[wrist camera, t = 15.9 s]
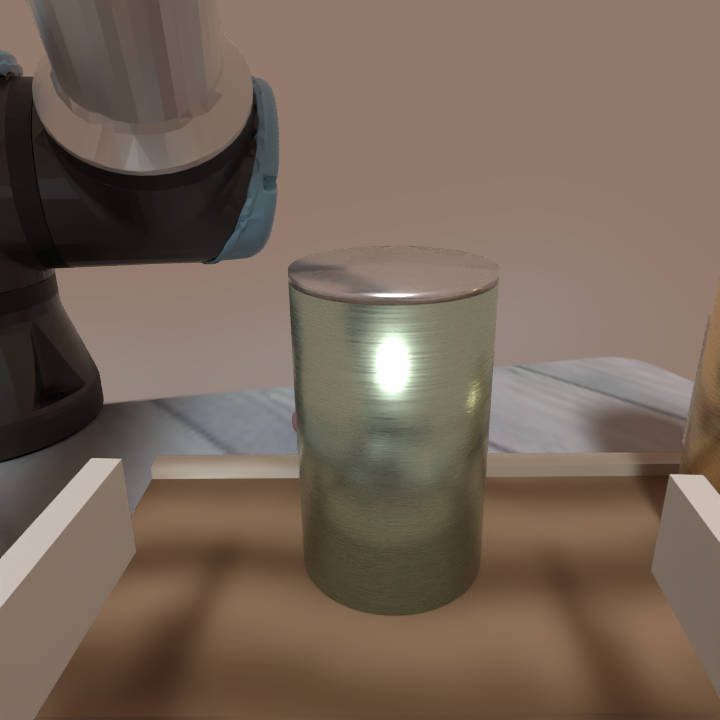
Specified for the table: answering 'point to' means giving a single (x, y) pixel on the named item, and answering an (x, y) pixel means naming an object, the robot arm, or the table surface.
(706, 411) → the mustard tin
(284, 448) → the table surface
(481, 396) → the green tin
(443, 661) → the wooden tray
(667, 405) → the table surface
